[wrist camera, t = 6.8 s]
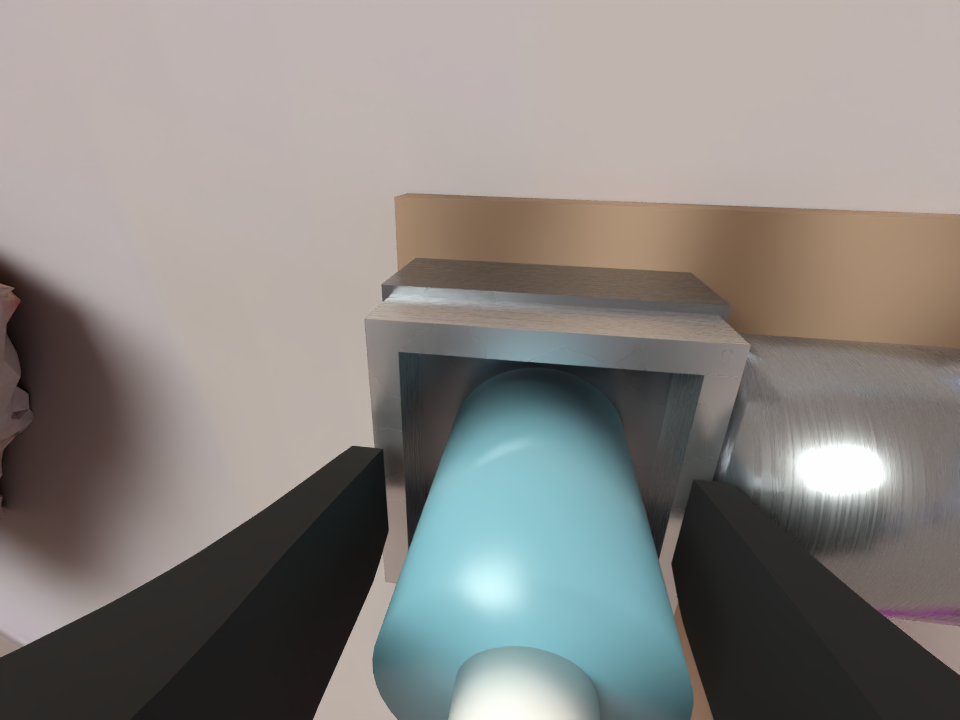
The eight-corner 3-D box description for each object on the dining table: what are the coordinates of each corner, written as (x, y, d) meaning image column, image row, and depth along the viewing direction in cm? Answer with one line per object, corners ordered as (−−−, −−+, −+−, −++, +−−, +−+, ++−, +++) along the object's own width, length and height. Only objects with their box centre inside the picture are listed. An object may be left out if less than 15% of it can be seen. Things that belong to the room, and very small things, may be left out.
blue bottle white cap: (660, 413, 10) (815, 779, 4) (574, 534, 12) (597, 915, 6) (491, 338, 10) (407, 611, 4) (429, 473, 12) (305, 803, 6)
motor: (1013, 290, 11) (1432, 410, 6) (896, 522, 14) (1103, 741, 9) (415, 257, 12) (323, 330, 7) (422, 472, 15) (359, 633, 10)
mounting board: (1013, 216, 11) (1063, 223, 10) (776, 715, 19) (790, 748, 18) (407, 193, 13) (394, 197, 12) (424, 662, 21) (417, 690, 20)
